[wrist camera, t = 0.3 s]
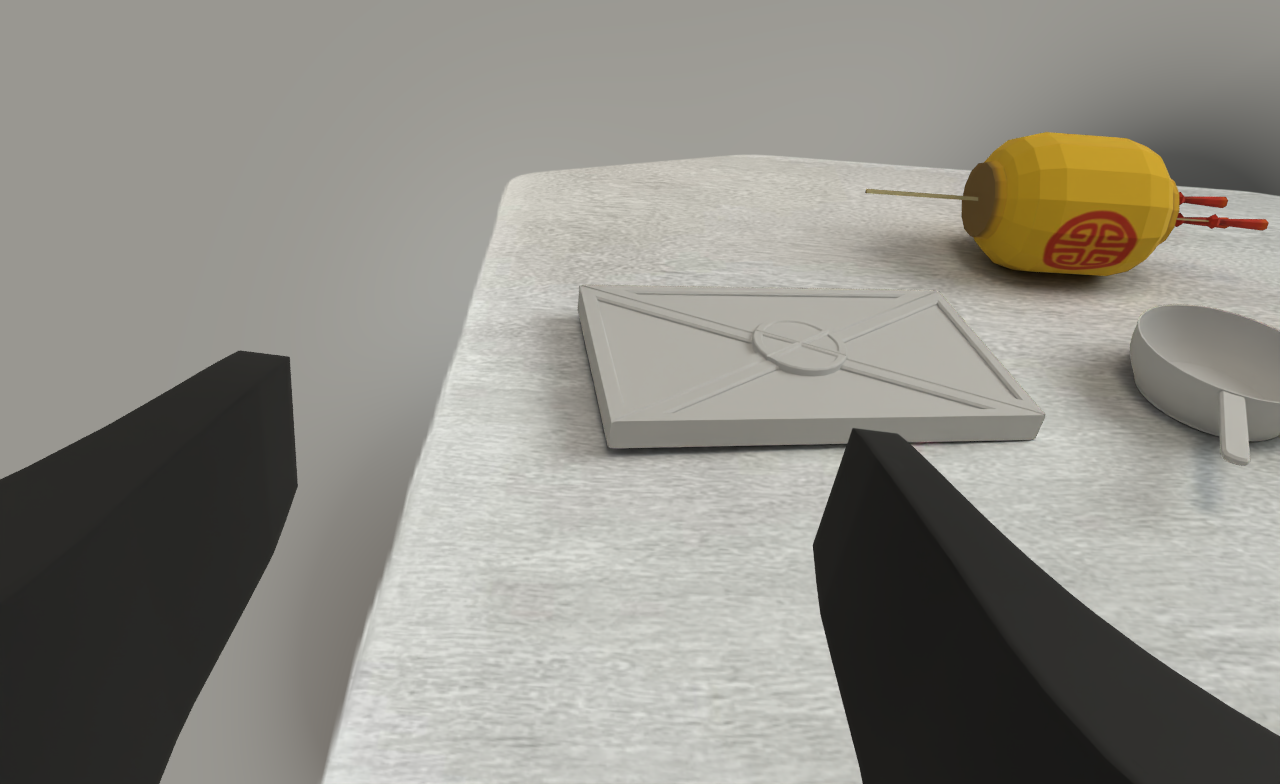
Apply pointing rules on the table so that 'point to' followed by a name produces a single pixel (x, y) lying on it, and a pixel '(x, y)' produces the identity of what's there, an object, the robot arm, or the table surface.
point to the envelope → (792, 367)
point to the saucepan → (1211, 373)
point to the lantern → (1075, 204)
